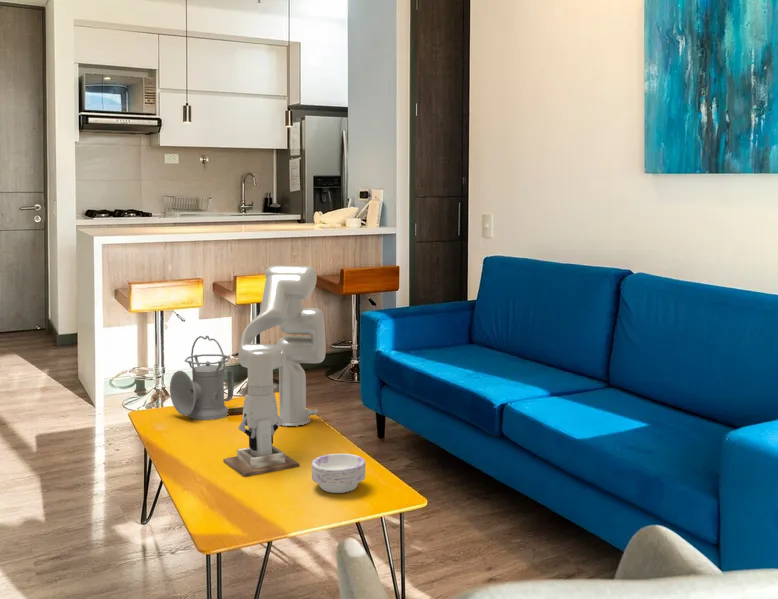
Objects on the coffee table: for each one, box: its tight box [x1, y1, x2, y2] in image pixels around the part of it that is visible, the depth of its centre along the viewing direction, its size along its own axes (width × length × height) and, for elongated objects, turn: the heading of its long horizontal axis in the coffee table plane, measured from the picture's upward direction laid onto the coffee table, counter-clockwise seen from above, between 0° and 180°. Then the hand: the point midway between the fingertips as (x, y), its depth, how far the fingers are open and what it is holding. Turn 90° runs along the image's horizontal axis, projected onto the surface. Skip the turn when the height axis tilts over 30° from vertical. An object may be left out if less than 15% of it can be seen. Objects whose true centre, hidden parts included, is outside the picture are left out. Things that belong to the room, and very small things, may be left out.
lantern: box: [169, 335, 235, 421], centre depth 302 cm, size 21×22×30 cm
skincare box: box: [251, 419, 273, 457], centre depth 248 cm, size 6×4×12 cm
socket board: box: [222, 445, 300, 478], centre depth 249 cm, size 18×16×4 cm
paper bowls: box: [311, 453, 367, 494], centre depth 229 cm, size 15×15×8 cm
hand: (261, 447), depth 249 cm, fingers closed on skincare box, 4 cm apart
